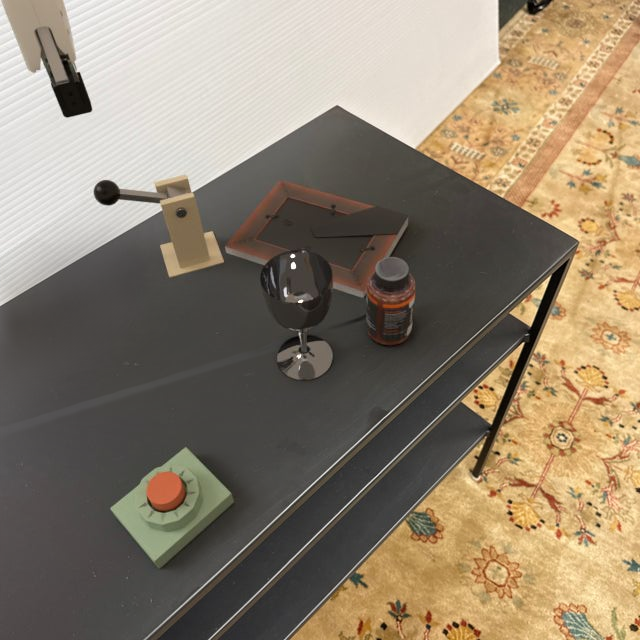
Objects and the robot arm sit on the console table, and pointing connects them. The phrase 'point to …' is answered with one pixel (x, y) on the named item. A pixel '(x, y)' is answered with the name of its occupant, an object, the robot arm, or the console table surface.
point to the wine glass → (299, 309)
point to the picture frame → (320, 232)
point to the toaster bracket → (185, 232)
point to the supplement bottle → (390, 302)
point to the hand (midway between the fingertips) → (78, 110)
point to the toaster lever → (131, 194)
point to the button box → (180, 523)
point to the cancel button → (165, 491)
